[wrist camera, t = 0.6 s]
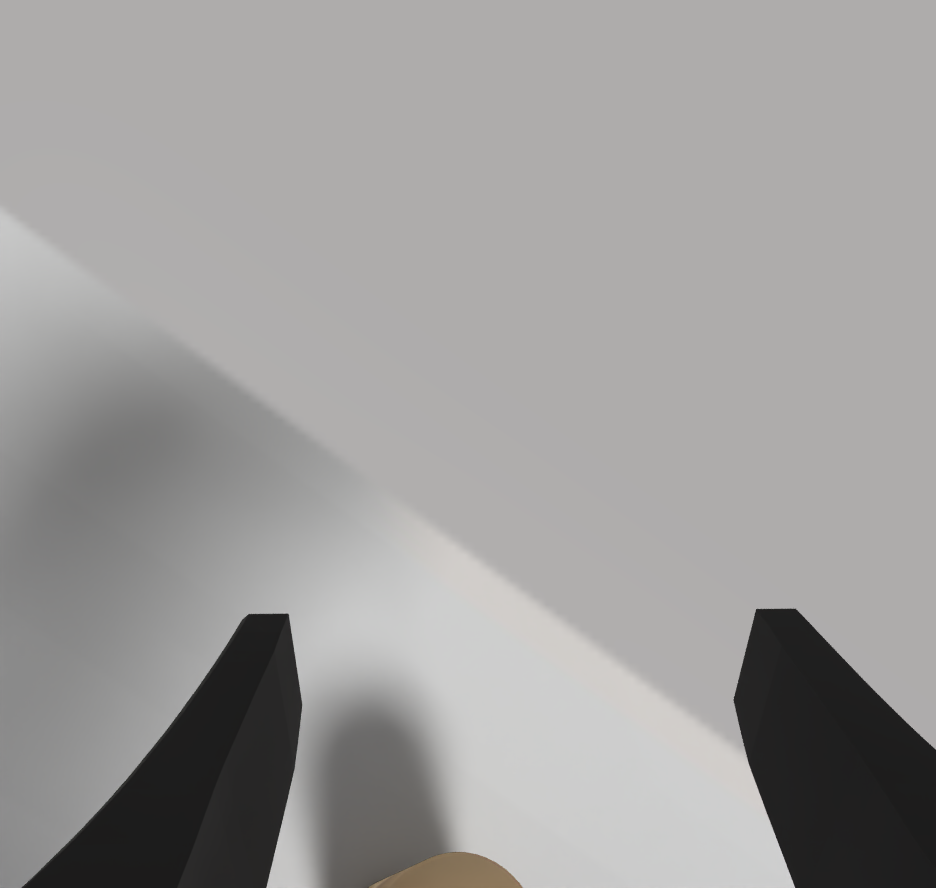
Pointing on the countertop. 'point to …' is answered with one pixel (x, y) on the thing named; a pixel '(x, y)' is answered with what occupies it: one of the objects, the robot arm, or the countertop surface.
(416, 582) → the countertop surface
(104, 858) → the robot arm
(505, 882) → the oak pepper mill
